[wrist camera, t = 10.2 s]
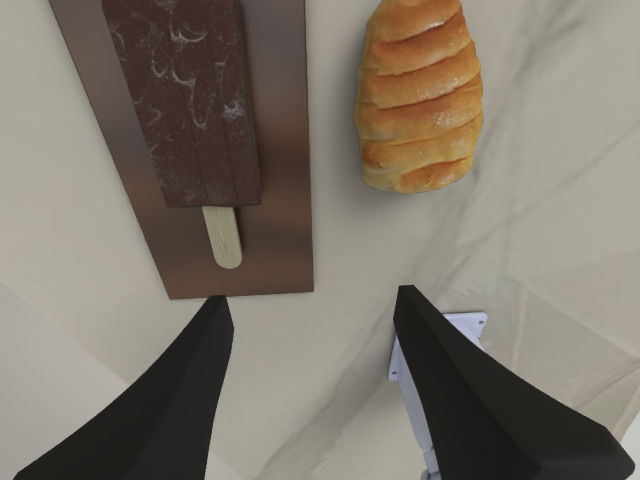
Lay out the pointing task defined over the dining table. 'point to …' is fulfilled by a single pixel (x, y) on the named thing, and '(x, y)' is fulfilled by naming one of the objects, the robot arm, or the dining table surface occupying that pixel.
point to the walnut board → (272, 148)
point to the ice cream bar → (192, 106)
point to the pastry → (417, 96)
